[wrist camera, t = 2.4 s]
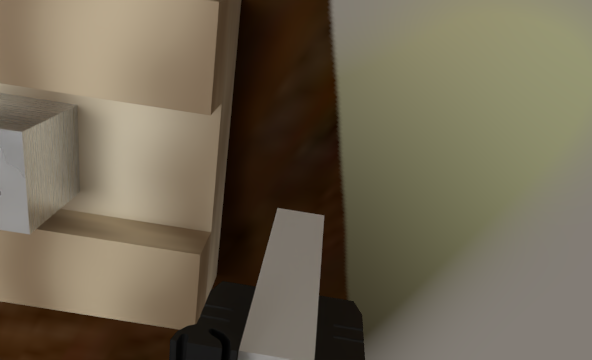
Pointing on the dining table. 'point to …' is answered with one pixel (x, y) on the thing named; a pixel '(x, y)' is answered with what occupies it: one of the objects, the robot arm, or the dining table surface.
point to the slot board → (126, 153)
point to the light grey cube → (36, 160)
